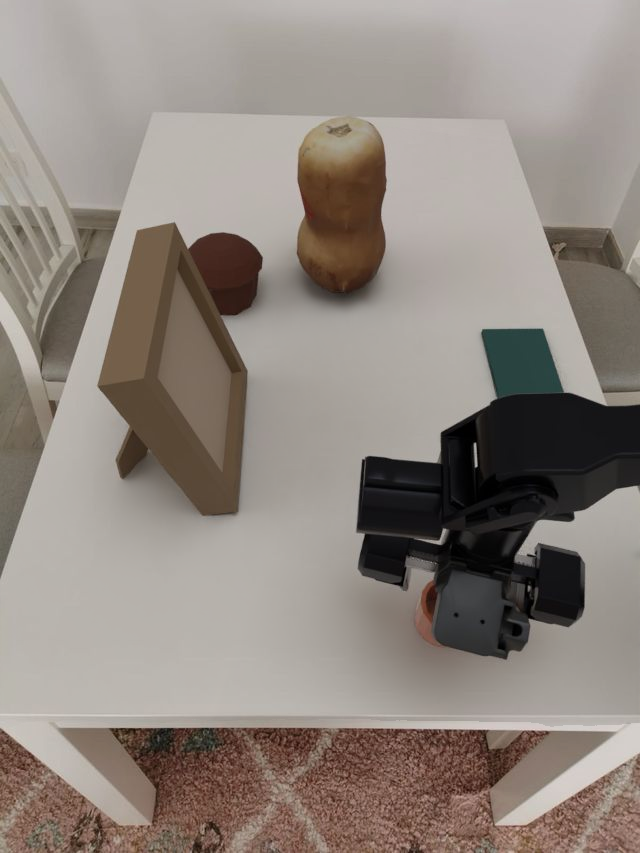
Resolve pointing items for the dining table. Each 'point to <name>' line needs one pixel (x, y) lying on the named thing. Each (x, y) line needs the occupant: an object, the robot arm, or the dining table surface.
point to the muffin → (228, 270)
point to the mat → (520, 361)
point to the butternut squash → (342, 203)
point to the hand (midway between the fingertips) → (452, 598)
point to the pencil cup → (426, 613)
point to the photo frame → (176, 374)
